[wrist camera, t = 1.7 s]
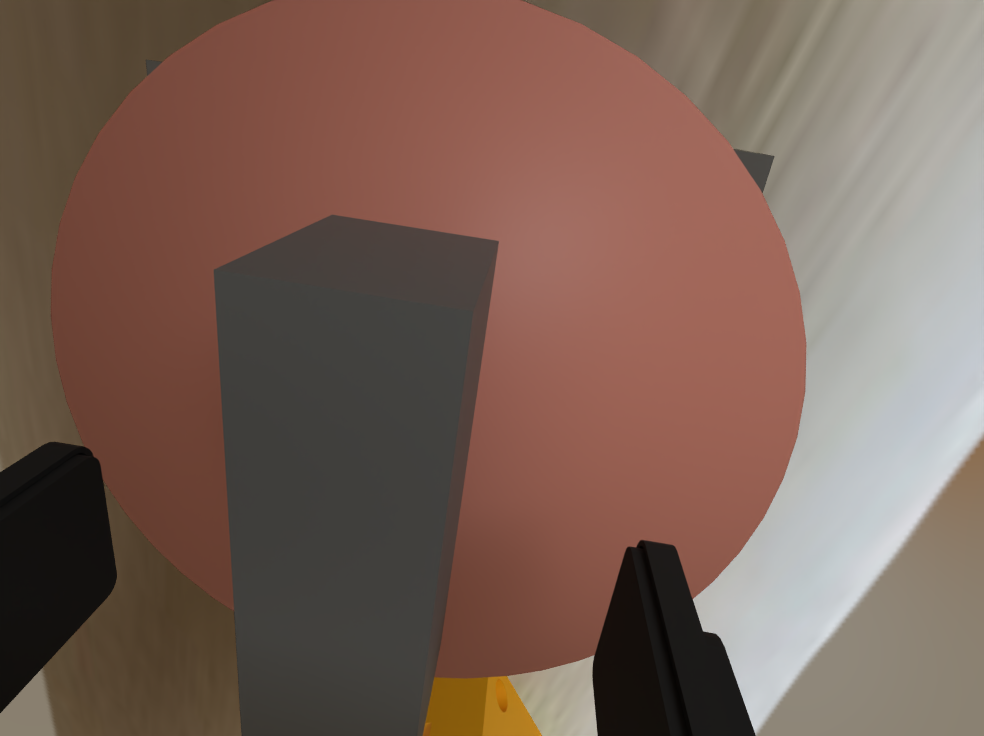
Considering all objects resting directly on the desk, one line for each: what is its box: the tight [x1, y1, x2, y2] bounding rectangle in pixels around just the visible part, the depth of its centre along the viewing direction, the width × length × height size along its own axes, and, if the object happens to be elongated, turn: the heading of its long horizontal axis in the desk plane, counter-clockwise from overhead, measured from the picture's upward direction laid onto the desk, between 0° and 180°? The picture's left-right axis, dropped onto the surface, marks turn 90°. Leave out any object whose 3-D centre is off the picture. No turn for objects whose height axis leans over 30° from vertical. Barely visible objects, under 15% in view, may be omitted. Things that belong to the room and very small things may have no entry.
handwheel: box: [51, 0, 806, 736], centre depth 12 cm, size 18×18×7 cm
